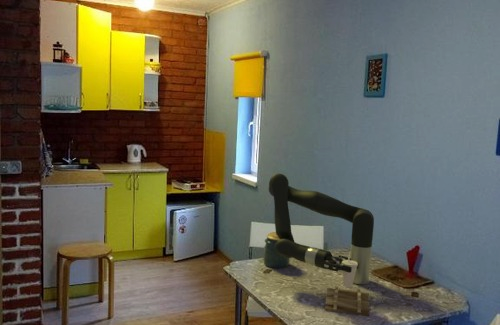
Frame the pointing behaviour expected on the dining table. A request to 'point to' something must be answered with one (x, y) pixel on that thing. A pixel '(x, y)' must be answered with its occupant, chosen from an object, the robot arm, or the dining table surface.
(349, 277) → the smoothie
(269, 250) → the canister
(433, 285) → the dining table surface
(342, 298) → the wooden grid tray
